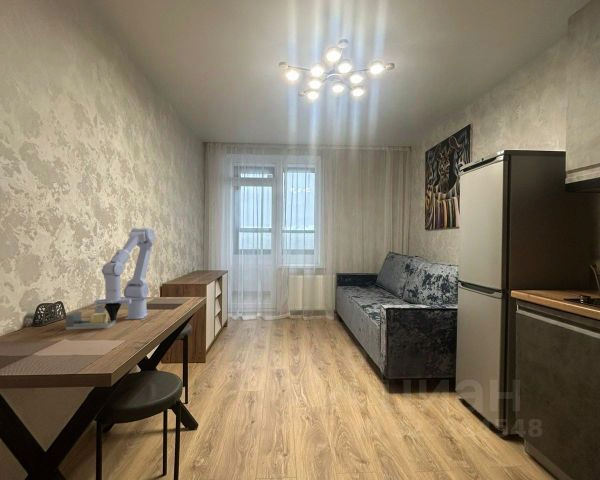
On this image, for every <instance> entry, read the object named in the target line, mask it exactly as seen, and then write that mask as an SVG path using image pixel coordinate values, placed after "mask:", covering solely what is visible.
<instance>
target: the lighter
mask: <svg viewBox="0 0 600 480" xmlns="http://www.w3.org/2000/svg"><path fill="white" fill-rule="evenodd" d="M105 306H106V304H104V306H103V304H99V305H96V307H94V314H95V313H106V309H105Z"/></svg>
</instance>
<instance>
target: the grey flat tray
mask: <svg viewBox="0 0 600 480" xmlns="http://www.w3.org/2000/svg"><path fill="white" fill-rule="evenodd" d="M116 323H117V320H115V321H111V320H110V318H108V322H107V323H90V319H86V320H81V324H73V327H66V326H65V330H66V331H69V330H87V329H88V330H90V329H91V330H92V329H109V328H110V327H112V326H113V325H115V324H116Z"/></svg>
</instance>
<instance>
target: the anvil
mask: <svg viewBox="0 0 600 480" xmlns="http://www.w3.org/2000/svg"><path fill="white" fill-rule="evenodd" d="M81 320H82V311H74V312H71V313H69V314H67V315H66V314H65V328H66V327H73V324H81Z"/></svg>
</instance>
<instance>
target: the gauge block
mask: <svg viewBox="0 0 600 480" xmlns="http://www.w3.org/2000/svg"><path fill="white" fill-rule="evenodd" d="M108 315H109V314H108V312H105V313H95V312H94V313H93V314H92V315H90V316H89V320H90V323H107V322H108V319H109V316H108Z"/></svg>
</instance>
